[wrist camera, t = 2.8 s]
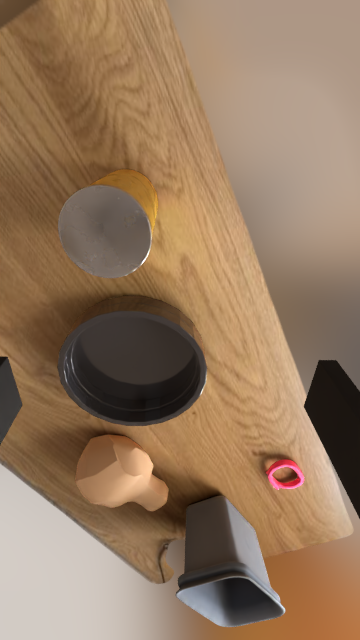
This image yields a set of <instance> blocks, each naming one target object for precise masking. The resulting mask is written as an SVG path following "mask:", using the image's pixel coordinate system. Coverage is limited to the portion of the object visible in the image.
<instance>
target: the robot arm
mask: <svg viewBox="0 0 360 640" xmlns="http://www.w3.org/2000/svg"><path fill="white" fill-rule="evenodd" d="M21 407H22V402H21V398H20V395H19V392H18V389H17V385H16V382H15V379H14V376H13V373H12V369H11V366H10V363H9V360H8V357H0V444H1V443H2V441H3V439H4V437H5V435H6V434H7V432H8V430H9V428H10V427H11V425H12V423H13V421H14V419H15V418H16V416H17V414H18V412H19V410H20V409H21ZM304 408H305V410H306V412H307V414H308V416H309V418H310V420H311V422H312V424H313V426H314V428H315V430H316V432H317V434H318V436H319V438H320V440H321V442H322V444H323V446H324V448H325V450H326V452H327V454H328V456H329V458H330V460H331V462H332V464H333V466H334V468H335V470H336V472H337V474H338V476H339V478H340V480H341V482H342V484H343V486H344V488H345V490H346V492H347V494H348V496H349V498H350V500H351V502H352V504H353V506H354V508H355V510H356V512H357V514H358V516H359V518H360V391H359V390H358V389H357V387H356V386H355V385H354V383H353V382H352V381H351V379H350V378H349V377H348V375H347V374H346V373H345V371H344V370H343V369H342V367H341V366H340V365H339V363H338V362H337V361H336V360H319V362H318V365H317V368H316V371H315V374H314V377H313V380H312V383H311V386H310V389H309V392H308V395H307V398H306V401H305V404H304Z"/></svg>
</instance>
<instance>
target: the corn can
mask: <svg viewBox="0 0 360 640" xmlns="http://www.w3.org/2000/svg"><path fill="white" fill-rule="evenodd" d="M157 209H158V198H157V194H156V191H155V188H154V186H153V185H152V183H151V182H150V181H149V180H148V179H147V178H146V177H145V176H144V175H142V174H141V173H139V172H137V171H134V170H130V169H121V170H117V171H114V172H112V173H110V174H108V175H107V176H105V177H103V178H101V179H100V180H98V181H96V182H94V183H92V184H91V185H89V186H87V187H84V188H82V189H80V190H78V191H76V192H75V193H74V194H73V195H71V196H70V197H69V198H68V199H67V201H66V202H65V204H64V205H63V207H62V209H61V212H60V215H59V220H58V232H59V237H60V241H61V244H62V246H63V248H64V250H65V252H66V254H67V255H68V256H69V258H70V259H71V260H72V261H73V262H74V263H75V264H76V265H77V266H78V267H80V268H81V269H82V270H84V271H86V272H88V273H90V274H92V275H95V276H98V277H103V278H117V277H122V276H125V275H128V274H130V273H132V272H133V271H135V270H136V269H137V268H139V267H140V266H141V265H142V263H143V262H144V261H145V259H146V258H147V256H148V254H149V251H150V248H151V243H152V234H153V229H154V224H155V219H156V214H157Z"/></svg>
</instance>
